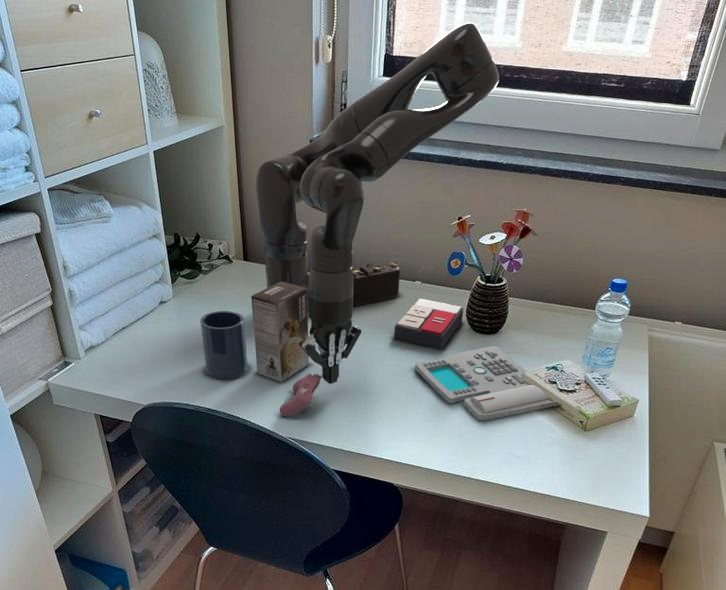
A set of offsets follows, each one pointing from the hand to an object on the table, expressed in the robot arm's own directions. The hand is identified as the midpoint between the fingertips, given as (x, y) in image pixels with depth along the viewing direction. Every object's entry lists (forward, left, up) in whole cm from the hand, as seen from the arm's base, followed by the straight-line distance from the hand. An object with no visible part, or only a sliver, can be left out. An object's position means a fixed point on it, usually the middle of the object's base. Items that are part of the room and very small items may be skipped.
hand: (330, 381), depth 126 cm
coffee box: (+2, -13, -3) cm, 13 cm away
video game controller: (+7, 0, -3) cm, 8 cm away
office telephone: (-25, +16, -3) cm, 30 cm away
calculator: (-34, -8, -3) cm, 35 cm away
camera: (-35, -30, -3) cm, 46 cm away
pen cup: (+10, -20, -2) cm, 22 cm away
